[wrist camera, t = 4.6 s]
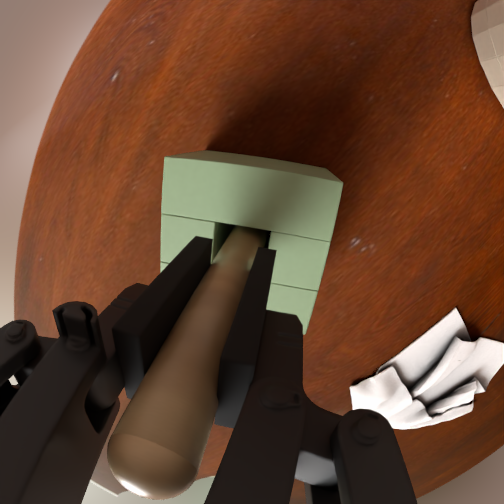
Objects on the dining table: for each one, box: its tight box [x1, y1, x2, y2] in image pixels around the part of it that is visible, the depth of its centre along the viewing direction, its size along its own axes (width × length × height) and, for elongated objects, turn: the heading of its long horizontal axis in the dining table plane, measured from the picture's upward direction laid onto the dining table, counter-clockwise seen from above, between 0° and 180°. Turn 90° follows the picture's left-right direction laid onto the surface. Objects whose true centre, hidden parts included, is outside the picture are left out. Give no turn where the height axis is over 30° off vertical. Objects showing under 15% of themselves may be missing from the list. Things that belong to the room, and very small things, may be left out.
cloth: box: [350, 307, 504, 429], centre depth 24 cm, size 20×22×2 cm
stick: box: [107, 225, 269, 500], centre depth 12 cm, size 2×2×18 cm
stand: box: [161, 150, 343, 334], centre depth 18 cm, size 9×9×7 cm
